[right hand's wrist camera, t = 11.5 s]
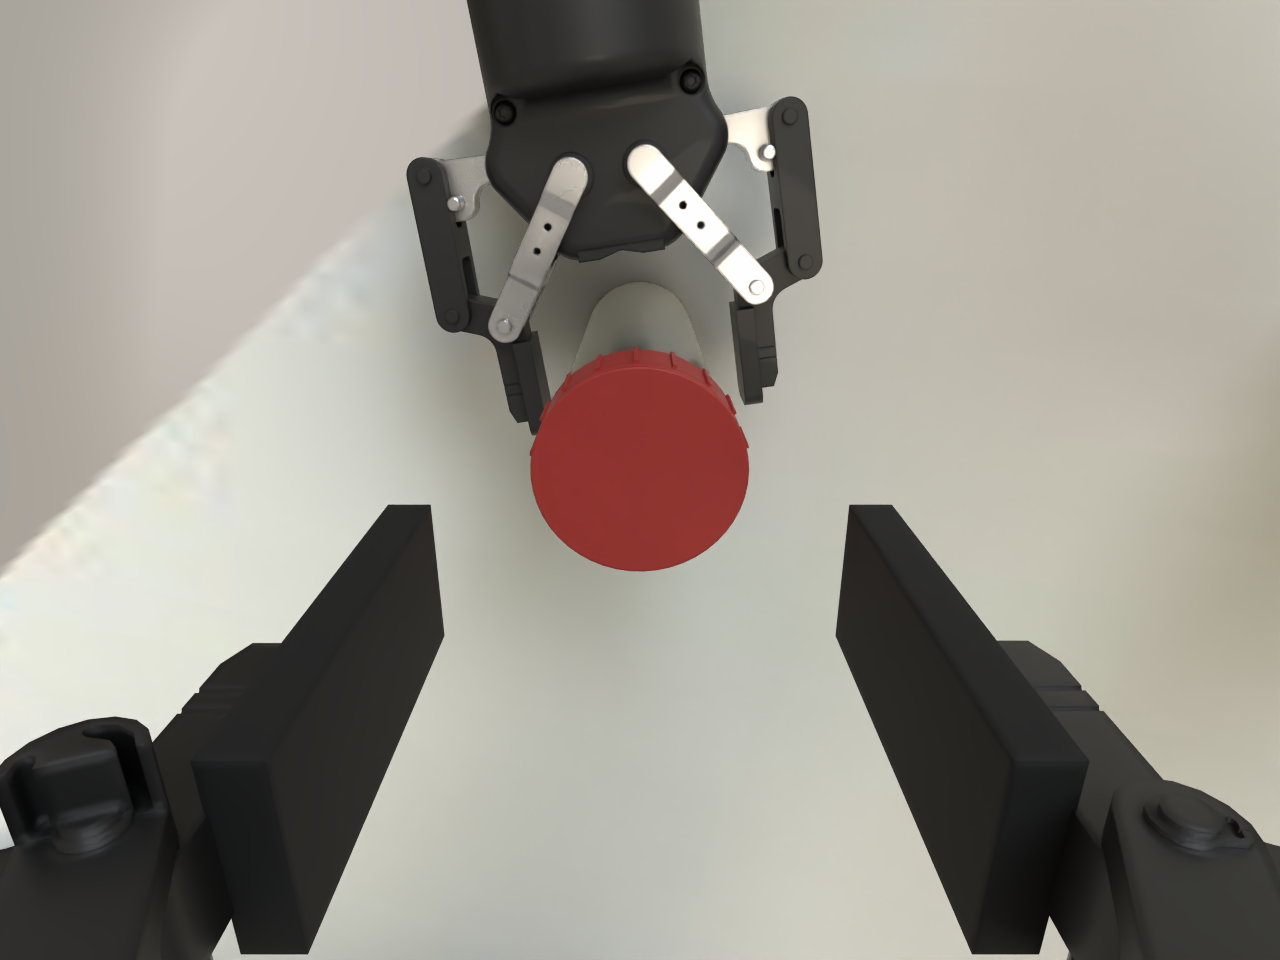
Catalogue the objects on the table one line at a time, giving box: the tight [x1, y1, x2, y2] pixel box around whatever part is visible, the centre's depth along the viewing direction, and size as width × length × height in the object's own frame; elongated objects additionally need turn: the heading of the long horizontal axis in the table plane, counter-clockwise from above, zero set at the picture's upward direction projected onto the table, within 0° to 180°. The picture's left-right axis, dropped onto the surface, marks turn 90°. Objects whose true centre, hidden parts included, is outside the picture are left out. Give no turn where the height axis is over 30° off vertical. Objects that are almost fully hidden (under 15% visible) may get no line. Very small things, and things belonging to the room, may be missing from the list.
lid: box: [530, 347, 749, 571], centre depth 20 cm, size 5×6×2 cm
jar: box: [570, 282, 711, 377], centre depth 28 cm, size 5×5×18 cm
